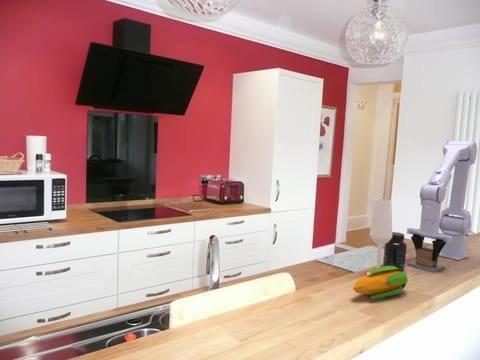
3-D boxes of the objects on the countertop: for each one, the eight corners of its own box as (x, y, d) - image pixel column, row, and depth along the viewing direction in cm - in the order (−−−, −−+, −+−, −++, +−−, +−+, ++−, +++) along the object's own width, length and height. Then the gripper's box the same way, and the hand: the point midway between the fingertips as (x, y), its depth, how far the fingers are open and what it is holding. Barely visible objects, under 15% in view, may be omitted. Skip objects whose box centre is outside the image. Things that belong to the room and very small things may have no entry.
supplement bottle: (378, 266, 130) (380, 231, 129) (393, 264, 133) (395, 230, 131) (394, 272, 124) (397, 236, 122) (409, 270, 126) (412, 235, 125)
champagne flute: (381, 280, 116) (388, 202, 114) (362, 274, 121) (367, 199, 119) (393, 276, 120) (399, 201, 118) (373, 270, 125) (379, 198, 123)
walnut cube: (422, 260, 135) (423, 247, 134) (437, 264, 131) (438, 250, 130) (415, 263, 132) (416, 249, 131) (430, 267, 128) (431, 252, 127)
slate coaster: (418, 261, 138) (419, 259, 137) (444, 268, 130) (444, 266, 130) (407, 264, 133) (407, 262, 133) (433, 272, 126) (433, 270, 125)
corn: (415, 266, 106) (367, 277, 96) (415, 293, 106) (366, 307, 96) (392, 260, 112) (344, 270, 102) (392, 286, 113) (344, 298, 102)
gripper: (403, 216, 133) (400, 254, 134) (446, 224, 122) (442, 266, 123) (414, 215, 137) (410, 251, 139) (456, 222, 126) (452, 262, 127)
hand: (426, 258), depth 131 cm, fingers closed on walnut cube, 5 cm apart
